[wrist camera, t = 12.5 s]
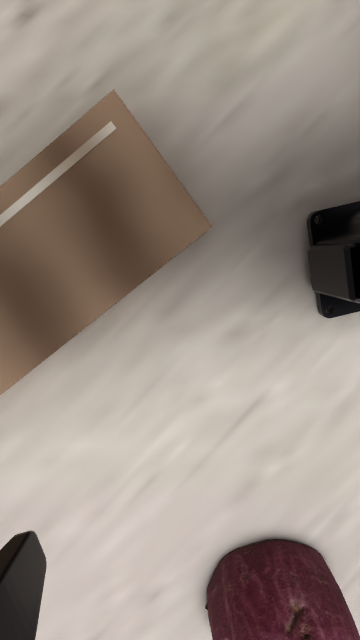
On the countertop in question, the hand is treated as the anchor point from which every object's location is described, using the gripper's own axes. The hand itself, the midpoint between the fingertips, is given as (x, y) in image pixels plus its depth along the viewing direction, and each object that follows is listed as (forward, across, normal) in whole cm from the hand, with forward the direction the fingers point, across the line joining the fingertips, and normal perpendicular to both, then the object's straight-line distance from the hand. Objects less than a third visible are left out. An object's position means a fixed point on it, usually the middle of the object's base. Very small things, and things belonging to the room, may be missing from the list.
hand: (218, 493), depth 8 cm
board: (+13, +7, -6) cm, 16 cm away
